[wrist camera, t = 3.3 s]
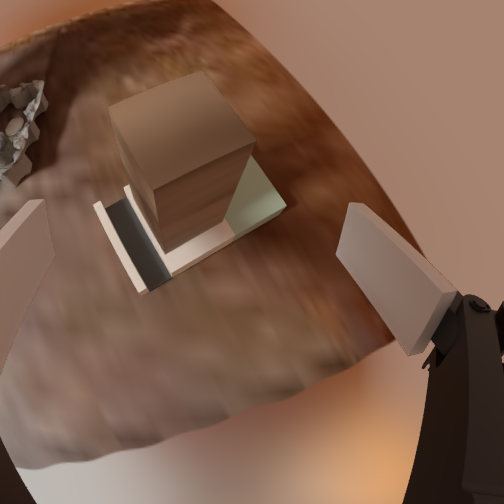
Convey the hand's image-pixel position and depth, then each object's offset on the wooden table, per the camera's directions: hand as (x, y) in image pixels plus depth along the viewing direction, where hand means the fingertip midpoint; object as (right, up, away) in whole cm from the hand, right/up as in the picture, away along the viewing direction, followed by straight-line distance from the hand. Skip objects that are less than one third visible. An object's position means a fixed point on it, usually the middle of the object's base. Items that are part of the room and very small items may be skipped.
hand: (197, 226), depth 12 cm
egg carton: (-20, +9, +9) cm, 24 cm away
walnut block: (-3, +2, +8) cm, 9 cm away
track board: (-2, +2, +11) cm, 11 cm away
